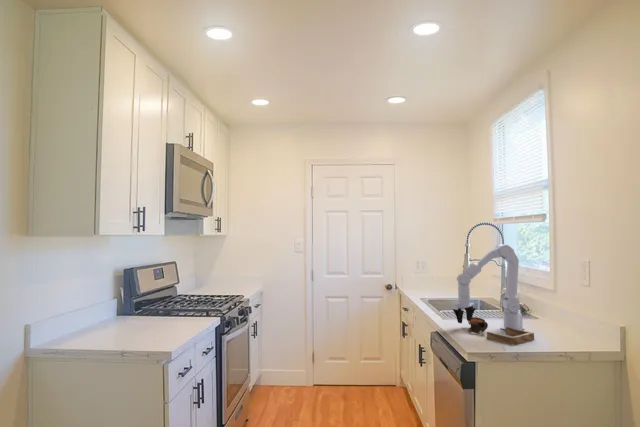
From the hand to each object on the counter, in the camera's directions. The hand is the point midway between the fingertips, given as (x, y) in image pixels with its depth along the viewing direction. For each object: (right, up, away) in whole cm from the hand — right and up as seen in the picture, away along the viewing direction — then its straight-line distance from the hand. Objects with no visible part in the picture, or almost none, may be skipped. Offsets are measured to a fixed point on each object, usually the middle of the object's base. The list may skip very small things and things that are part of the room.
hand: (464, 322), depth 216 cm
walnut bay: (+14, -2, -22) cm, 26 cm away
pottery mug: (+4, -3, -8) cm, 10 cm away
